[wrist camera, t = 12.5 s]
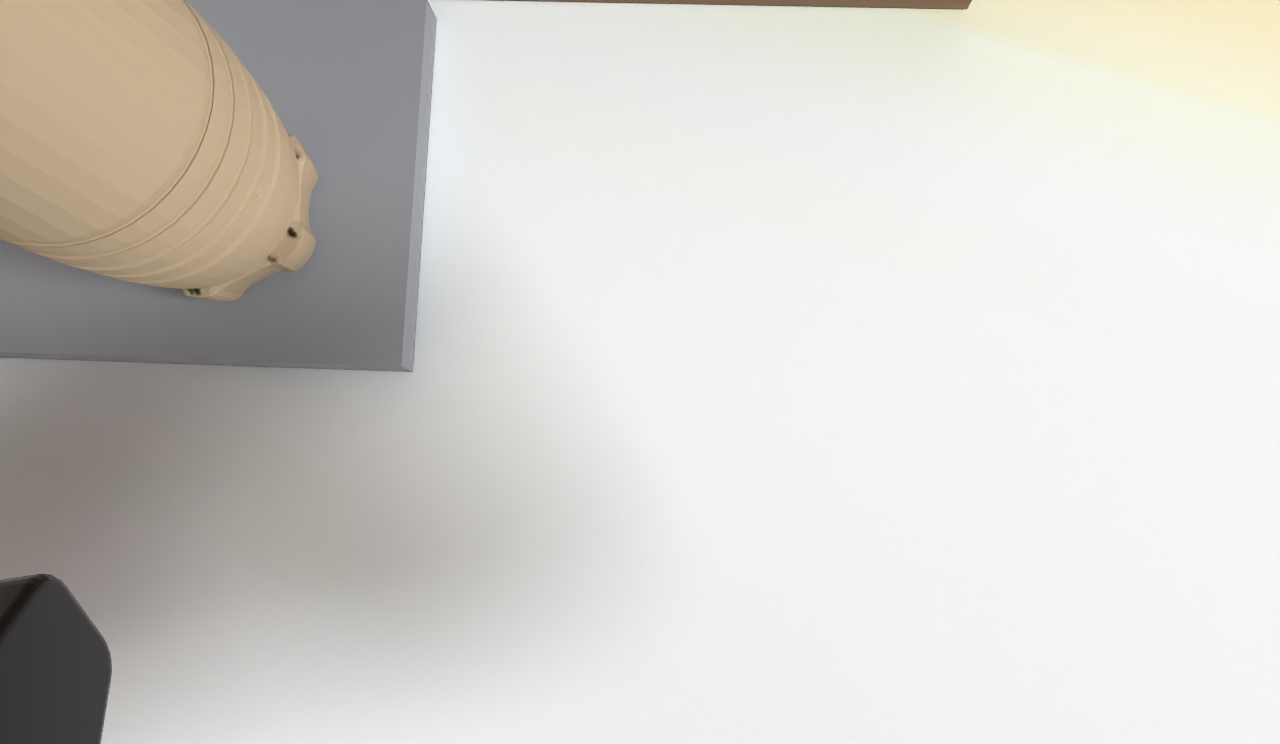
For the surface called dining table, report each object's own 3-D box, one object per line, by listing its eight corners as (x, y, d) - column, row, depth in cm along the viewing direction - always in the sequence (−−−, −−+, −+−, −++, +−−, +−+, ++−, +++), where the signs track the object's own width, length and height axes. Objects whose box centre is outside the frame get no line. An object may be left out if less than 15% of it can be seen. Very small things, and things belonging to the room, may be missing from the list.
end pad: (412, 372, 20) (401, 365, 19) (-12, 356, 21) (-41, 350, 20) (436, 18, 21) (427, -1, 20) (29, 11, 21) (4, -9, 21)
